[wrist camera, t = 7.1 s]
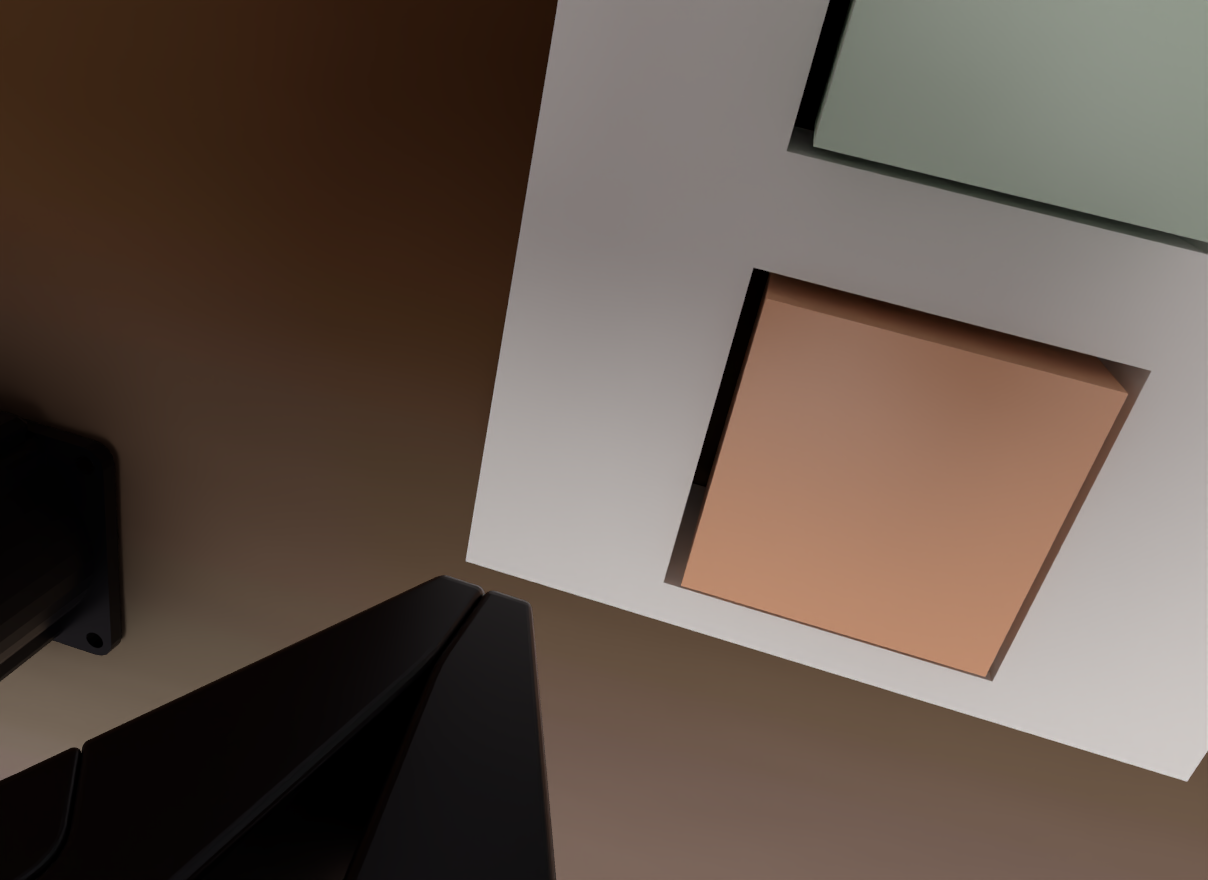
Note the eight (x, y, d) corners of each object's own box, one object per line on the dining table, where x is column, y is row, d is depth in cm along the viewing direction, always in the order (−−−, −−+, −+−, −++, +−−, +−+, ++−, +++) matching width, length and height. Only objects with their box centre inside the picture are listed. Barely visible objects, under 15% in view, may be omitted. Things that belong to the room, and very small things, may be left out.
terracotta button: (955, 561, 18) (984, 677, 15) (705, 489, 19) (680, 585, 16) (1064, 320, 16) (1128, 393, 13) (776, 245, 17) (766, 298, 13)
